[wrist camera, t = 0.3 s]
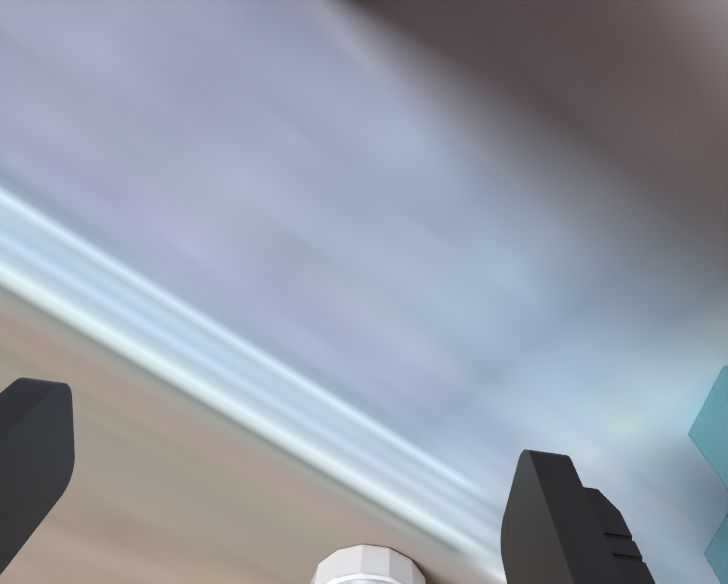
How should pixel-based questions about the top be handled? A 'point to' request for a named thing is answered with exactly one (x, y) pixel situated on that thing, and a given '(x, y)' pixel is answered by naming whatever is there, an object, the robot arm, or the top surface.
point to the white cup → (367, 567)
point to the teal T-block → (716, 460)
